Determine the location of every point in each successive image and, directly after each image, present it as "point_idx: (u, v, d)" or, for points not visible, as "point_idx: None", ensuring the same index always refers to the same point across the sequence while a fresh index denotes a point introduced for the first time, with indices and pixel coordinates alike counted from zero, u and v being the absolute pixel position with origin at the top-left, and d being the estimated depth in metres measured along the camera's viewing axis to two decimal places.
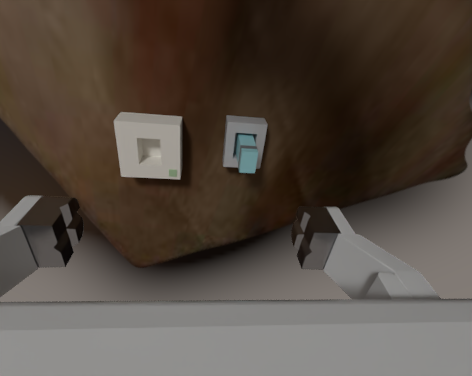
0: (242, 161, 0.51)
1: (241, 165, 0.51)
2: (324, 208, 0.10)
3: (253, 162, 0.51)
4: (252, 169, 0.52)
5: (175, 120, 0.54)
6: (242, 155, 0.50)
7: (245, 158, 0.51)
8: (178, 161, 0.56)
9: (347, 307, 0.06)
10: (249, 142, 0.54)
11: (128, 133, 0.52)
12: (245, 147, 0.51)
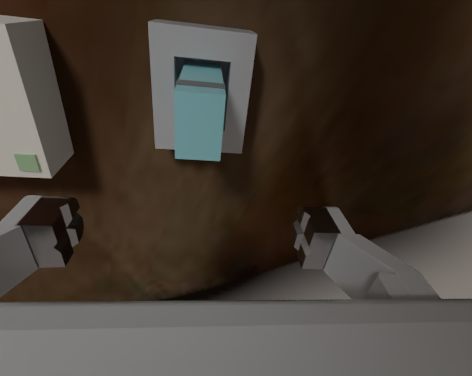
0: (179, 124, 0.17)
1: (178, 135, 0.17)
2: (324, 207, 0.10)
3: (213, 128, 0.17)
4: (212, 149, 0.18)
5: (9, 19, 0.20)
6: (177, 104, 0.16)
7: (187, 114, 0.17)
8: (33, 133, 0.22)
9: (347, 307, 0.06)
10: (206, 76, 0.20)
11: None
12: (189, 83, 0.17)
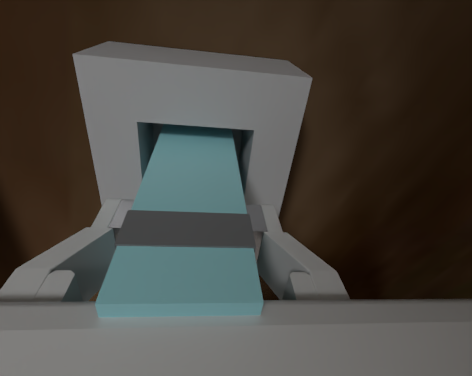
0: None
1: None
2: (259, 205, 0.10)
3: None
4: None
5: None
6: None
7: None
8: None
9: (347, 307, 0.06)
10: (203, 179, 0.09)
11: None
12: (157, 235, 0.06)
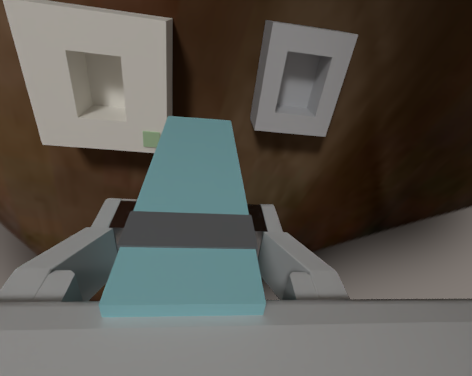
0: None
1: None
2: (259, 205, 0.10)
3: None
4: None
5: (156, 17, 0.24)
6: None
7: None
8: (163, 113, 0.26)
9: (347, 307, 0.06)
10: (205, 180, 0.09)
11: (44, 37, 0.22)
12: (160, 236, 0.06)
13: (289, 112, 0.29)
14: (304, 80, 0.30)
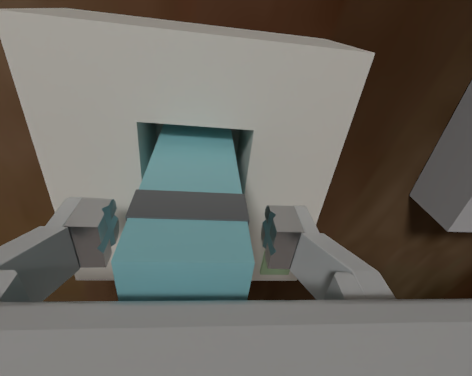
0: None
1: None
2: (292, 206, 0.10)
3: None
4: None
5: (320, 41, 0.11)
6: (124, 285, 0.06)
7: None
8: None
9: (347, 307, 0.06)
10: (203, 165, 0.09)
11: (92, 96, 0.10)
12: (163, 210, 0.07)
13: None
14: None
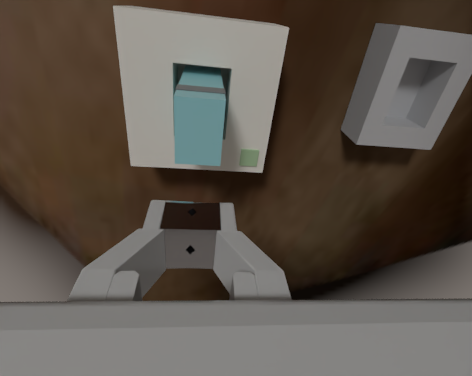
0: (179, 129, 0.17)
1: (178, 141, 0.17)
2: (217, 204, 0.10)
3: (213, 133, 0.17)
4: (212, 154, 0.18)
5: (267, 23, 0.22)
6: (177, 109, 0.16)
7: (187, 120, 0.17)
8: (266, 129, 0.24)
9: (347, 307, 0.06)
10: (206, 81, 0.20)
11: (152, 48, 0.20)
12: (189, 89, 0.17)
13: (394, 123, 0.27)
14: (408, 88, 0.27)
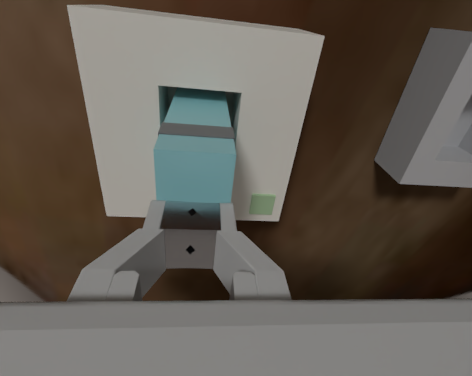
0: (164, 195, 0.11)
1: None
2: (217, 204, 0.10)
3: (216, 199, 0.11)
4: None
5: (290, 29, 0.16)
6: (159, 168, 0.10)
7: (176, 182, 0.11)
8: (286, 170, 0.18)
9: (347, 307, 0.06)
10: (205, 113, 0.14)
11: (128, 66, 0.14)
12: (180, 131, 0.11)
13: (448, 157, 0.21)
14: (466, 110, 0.21)
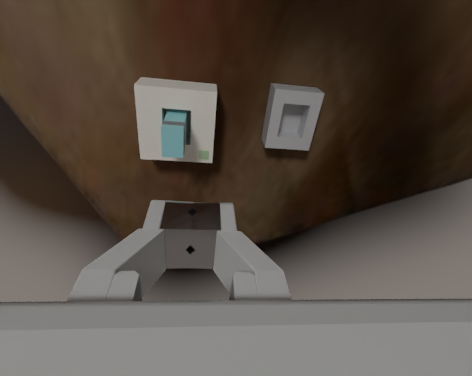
0: (163, 141, 0.39)
1: (163, 146, 0.39)
2: (217, 204, 0.10)
3: (178, 143, 0.39)
4: (179, 152, 0.40)
5: (209, 87, 0.43)
6: (162, 133, 0.38)
7: (167, 137, 0.38)
8: (211, 139, 0.45)
9: (347, 307, 0.06)
10: (177, 117, 0.41)
11: (151, 102, 0.41)
12: (168, 123, 0.39)
13: (285, 136, 0.48)
14: (295, 116, 0.49)
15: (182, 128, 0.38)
